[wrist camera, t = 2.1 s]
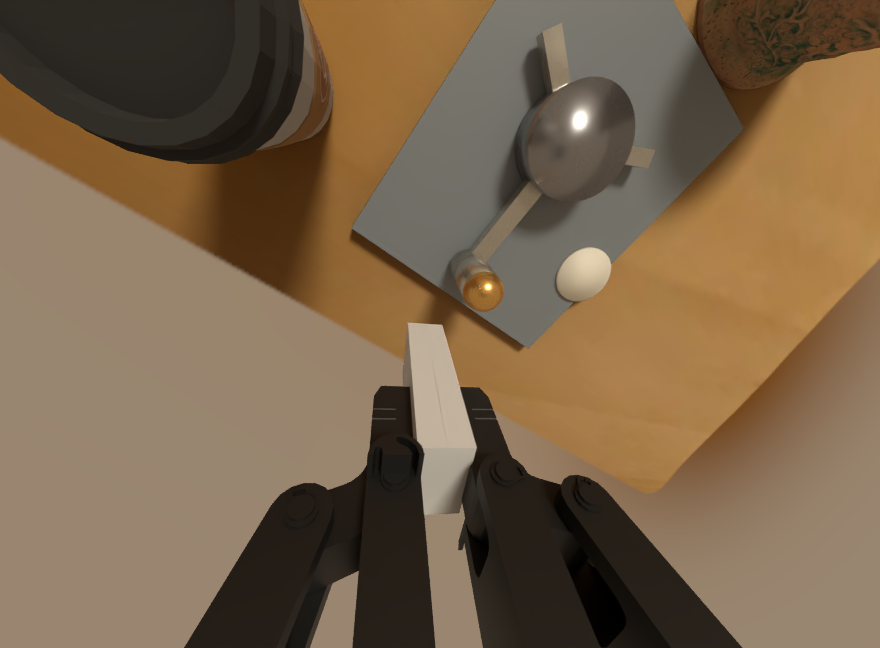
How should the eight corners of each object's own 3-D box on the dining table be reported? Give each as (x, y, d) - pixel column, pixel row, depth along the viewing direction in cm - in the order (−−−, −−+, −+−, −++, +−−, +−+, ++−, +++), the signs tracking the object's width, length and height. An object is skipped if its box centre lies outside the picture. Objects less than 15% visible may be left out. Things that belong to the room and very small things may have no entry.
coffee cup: (363, 148, 23) (325, 144, 10) (246, 166, 22) (38, 188, 9) (328, -13, 18) (176, -403, 5) (183, 5, 18) (-360, -373, 5)
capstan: (545, 22, 19) (617, -39, 13) (646, 155, 24) (735, 156, 18) (397, 235, 24) (398, 264, 18) (504, 312, 29) (535, 356, 23)
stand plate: (352, 224, 25) (350, 228, 24) (578, -131, 18) (593, -153, 16) (530, 346, 33) (536, 354, 32) (735, 138, 26) (753, 138, 24)
